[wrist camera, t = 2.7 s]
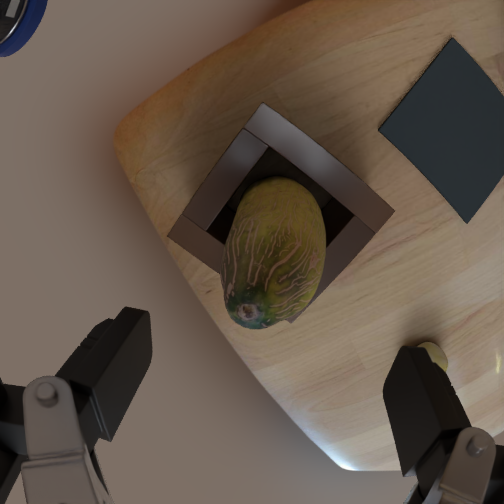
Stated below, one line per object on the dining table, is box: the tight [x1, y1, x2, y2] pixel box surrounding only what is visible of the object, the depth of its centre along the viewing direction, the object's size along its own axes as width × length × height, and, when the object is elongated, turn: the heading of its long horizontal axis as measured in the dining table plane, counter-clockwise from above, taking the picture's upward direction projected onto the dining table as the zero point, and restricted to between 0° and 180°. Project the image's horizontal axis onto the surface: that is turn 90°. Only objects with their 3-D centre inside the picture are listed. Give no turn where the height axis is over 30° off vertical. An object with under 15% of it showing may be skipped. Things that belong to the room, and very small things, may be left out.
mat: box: [378, 37, 504, 224], centre depth 25 cm, size 14×14×1 cm
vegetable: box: [220, 176, 326, 329], centre depth 21 cm, size 6×6×20 cm
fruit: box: [417, 342, 448, 372], centre depth 33 cm, size 6×6×10 cm
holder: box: [167, 102, 395, 323], centre depth 26 cm, size 12×12×8 cm
